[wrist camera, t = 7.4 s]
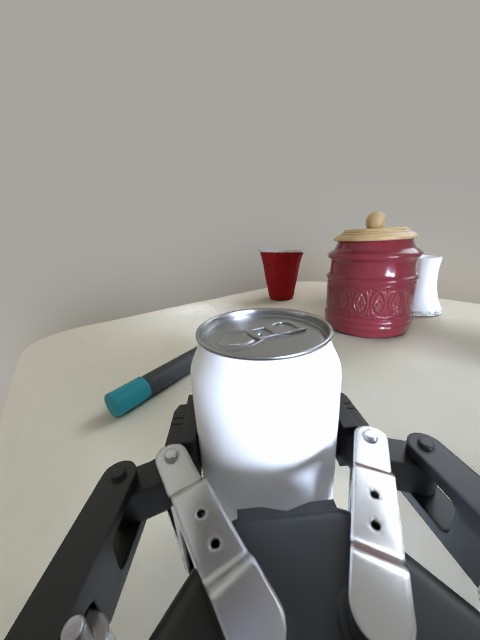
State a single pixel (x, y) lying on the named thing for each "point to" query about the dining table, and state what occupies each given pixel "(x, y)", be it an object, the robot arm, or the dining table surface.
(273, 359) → the can
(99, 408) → the dining table surface
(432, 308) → the vase
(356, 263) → the kitchen canister
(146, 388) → the marker
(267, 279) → the plastic cup
